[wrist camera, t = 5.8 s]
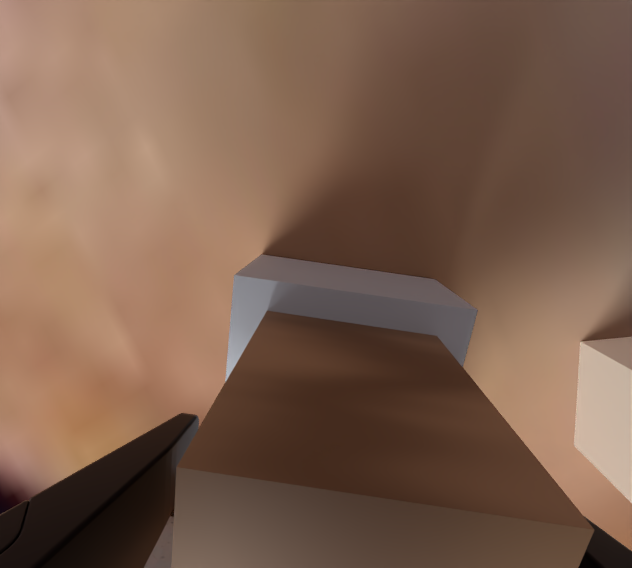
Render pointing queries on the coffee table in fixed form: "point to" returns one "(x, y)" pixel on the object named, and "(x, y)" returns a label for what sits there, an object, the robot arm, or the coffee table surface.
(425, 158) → the coffee table surface
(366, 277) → the light gray block
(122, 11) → the coffee table surface
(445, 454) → the walnut block
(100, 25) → the coffee table surface
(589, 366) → the cream block
